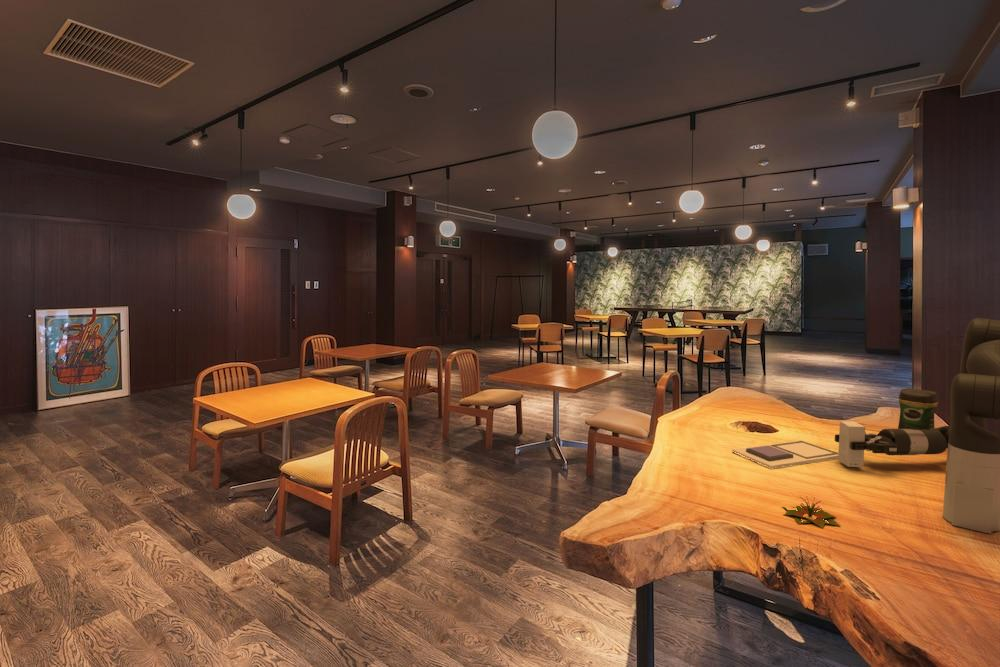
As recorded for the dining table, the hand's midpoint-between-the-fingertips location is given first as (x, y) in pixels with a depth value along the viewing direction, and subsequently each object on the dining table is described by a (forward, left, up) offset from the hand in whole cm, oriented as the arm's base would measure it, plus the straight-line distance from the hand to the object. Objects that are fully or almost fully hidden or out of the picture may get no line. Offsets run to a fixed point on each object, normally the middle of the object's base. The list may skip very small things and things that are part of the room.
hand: (843, 442), depth 142 cm
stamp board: (0, +14, -7) cm, 16 cm away
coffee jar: (+38, -15, -7) cm, 41 cm away
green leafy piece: (-42, 0, -8) cm, 43 cm away
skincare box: (+1, -2, -7) cm, 7 cm away
